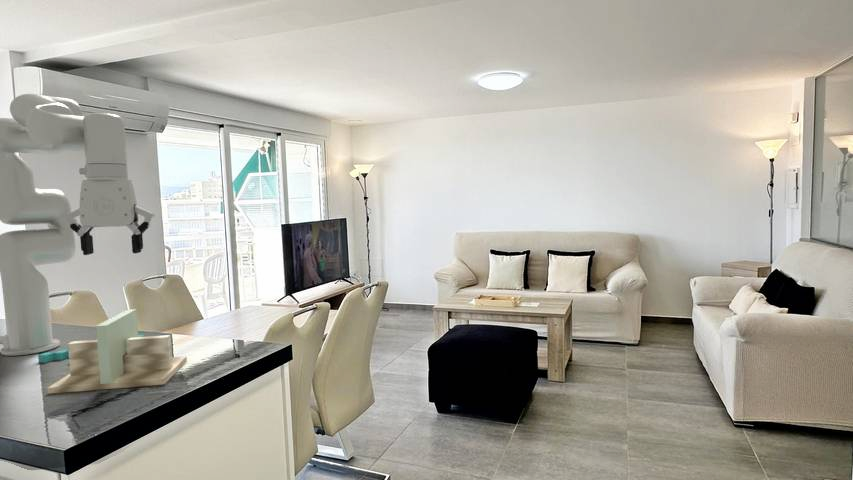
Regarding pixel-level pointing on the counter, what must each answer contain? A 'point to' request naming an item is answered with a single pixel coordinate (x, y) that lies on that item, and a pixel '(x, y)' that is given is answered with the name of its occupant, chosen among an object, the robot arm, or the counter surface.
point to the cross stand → (140, 364)
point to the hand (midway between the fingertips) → (113, 253)
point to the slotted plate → (115, 343)
